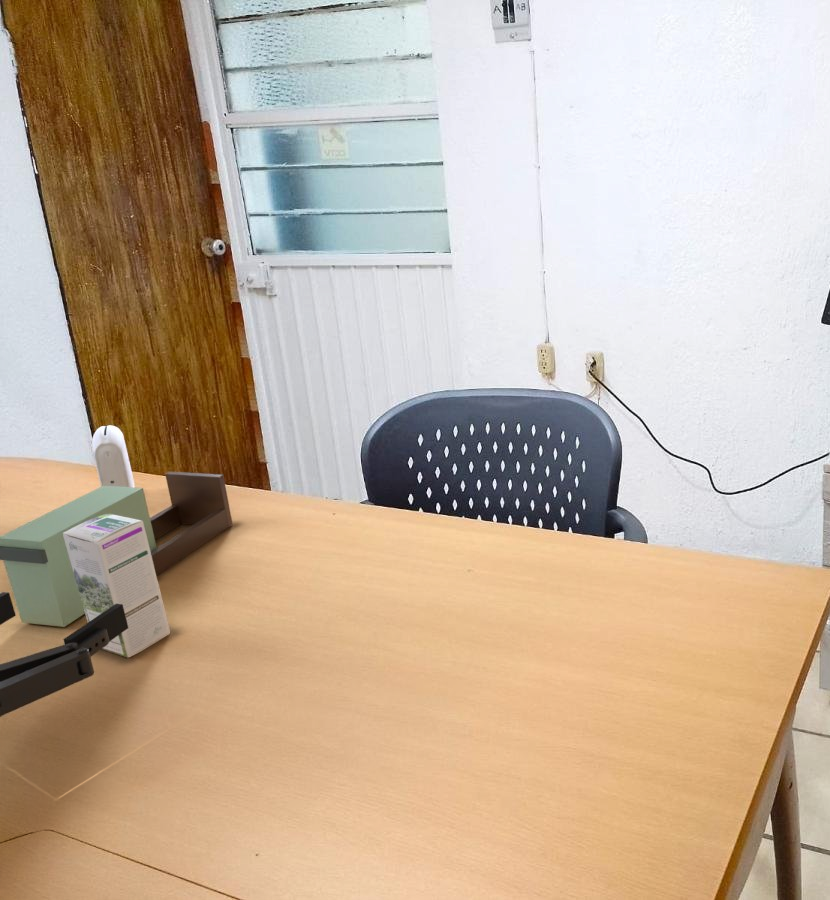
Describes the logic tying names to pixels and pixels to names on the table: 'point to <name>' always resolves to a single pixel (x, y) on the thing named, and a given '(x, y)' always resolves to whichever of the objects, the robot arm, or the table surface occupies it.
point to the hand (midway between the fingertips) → (65, 609)
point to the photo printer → (111, 457)
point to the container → (61, 553)
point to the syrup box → (118, 578)
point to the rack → (190, 515)
